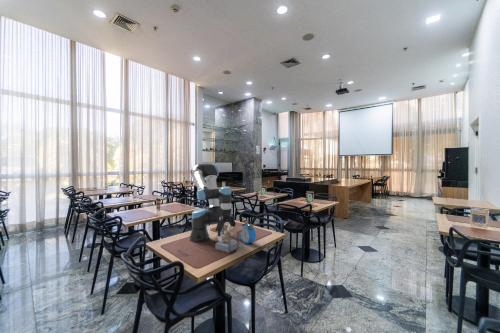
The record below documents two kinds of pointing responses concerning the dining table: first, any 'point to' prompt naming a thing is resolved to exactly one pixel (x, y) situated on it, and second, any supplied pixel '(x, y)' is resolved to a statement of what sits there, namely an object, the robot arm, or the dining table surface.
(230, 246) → the socket station
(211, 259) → the dining table surface
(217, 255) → the dining table surface
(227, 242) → the peg
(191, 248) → the dining table surface
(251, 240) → the alarm clock
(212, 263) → the dining table surface
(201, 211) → the robot arm
